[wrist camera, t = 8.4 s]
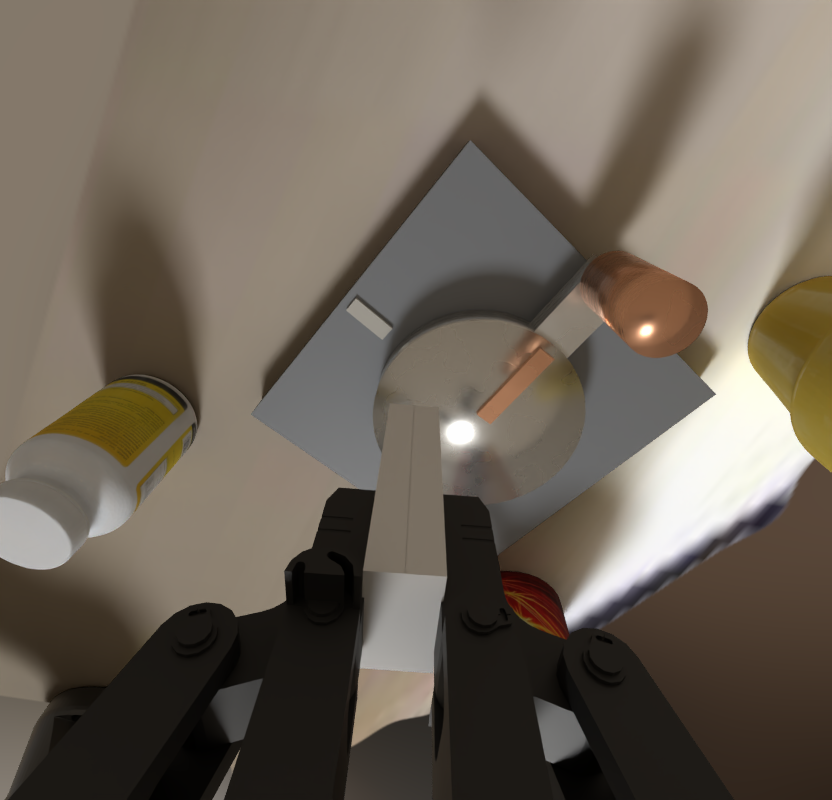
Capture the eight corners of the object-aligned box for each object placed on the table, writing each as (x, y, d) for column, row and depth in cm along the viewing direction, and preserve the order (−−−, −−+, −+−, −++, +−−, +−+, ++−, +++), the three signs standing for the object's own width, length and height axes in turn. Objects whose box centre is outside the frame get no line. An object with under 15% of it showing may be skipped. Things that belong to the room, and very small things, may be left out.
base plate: (475, 550, 36) (477, 572, 34) (261, 399, 31) (249, 416, 29) (698, 379, 29) (717, 395, 27) (467, 141, 23) (470, 140, 21)
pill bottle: (102, 361, 30) (-72, 466, 20) (201, 381, 31) (80, 493, 20) (112, 443, 33) (-34, 570, 23) (202, 460, 34) (97, 593, 23)
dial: (484, 513, 32) (497, 611, 25) (339, 419, 29) (308, 501, 22) (698, 320, 25) (797, 382, 18) (536, 171, 22) (580, 176, 15)
